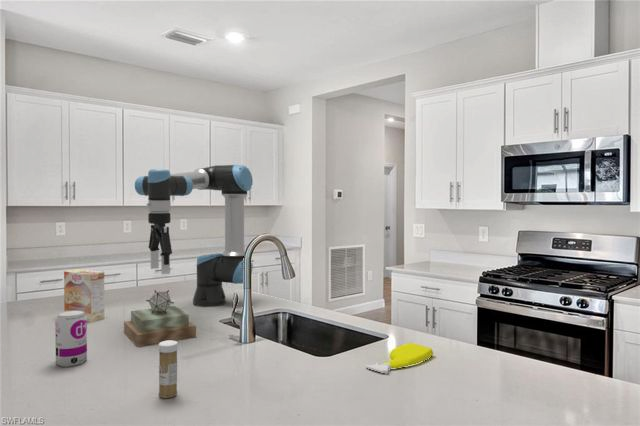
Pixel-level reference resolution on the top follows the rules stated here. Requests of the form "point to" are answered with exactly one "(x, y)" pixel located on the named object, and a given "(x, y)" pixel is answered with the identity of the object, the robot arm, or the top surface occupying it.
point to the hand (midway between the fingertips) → (160, 271)
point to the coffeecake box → (85, 293)
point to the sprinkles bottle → (168, 369)
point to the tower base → (158, 334)
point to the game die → (160, 301)
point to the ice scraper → (403, 357)
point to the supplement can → (71, 338)
